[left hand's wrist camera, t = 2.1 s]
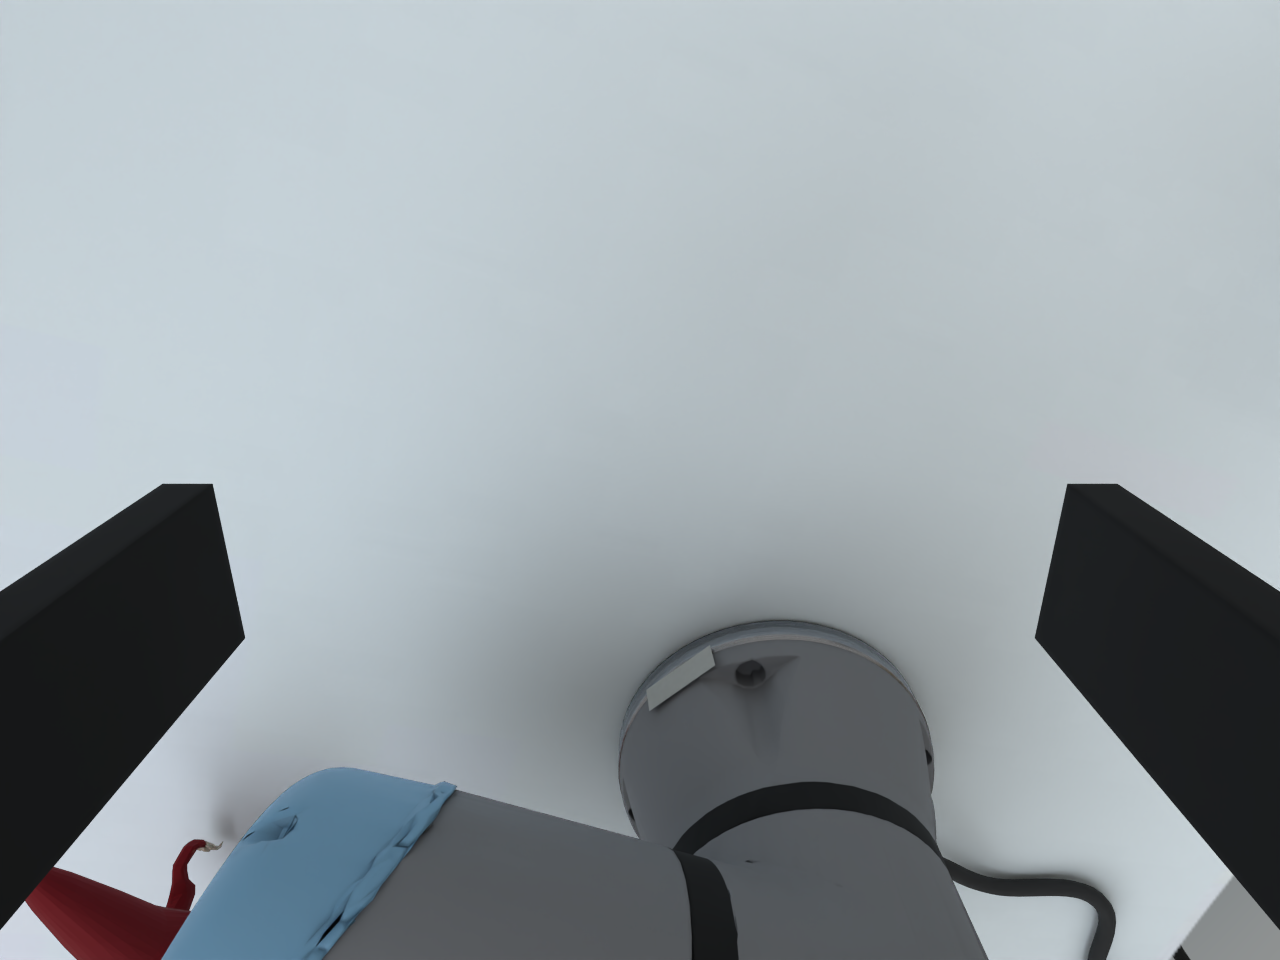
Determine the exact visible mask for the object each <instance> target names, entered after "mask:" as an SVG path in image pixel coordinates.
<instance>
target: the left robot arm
mask: <svg viewBox="0 0 1280 960" xmlns="http://www.w3.org/2000/svg"><path fill="white" fill-rule="evenodd" d="M244 639H245V635H244V630H243V625H242V621H241V616H240V611H239V606H238V602H237V597H236V592H235V588H234V583H233V578H232V573H231V569H230V564H229V559H228V555H227V550H226V545H225V540H224V536H223V531H222V526H221V521H220V517H219V512H218V507H217V503H216V498H215V493H214V488H213V484H162V485H160V486H159V487H157V488H156V489H154V490H153V491H151V492H150V493H148V494H147V495H145V496H144V497H142V498H141V499H139V500H138V501H136V502H135V503H133V504H132V505H130V506H129V507H127V508H126V509H124V510H123V511H121V512H120V513H118V514H117V515H115V516H114V517H112V518H111V519H109V520H107V521H106V522H104V523H103V524H101V525H100V526H98V527H97V528H95V529H94V530H92V531H91V532H89V533H88V534H86V535H85V536H83V537H82V538H80V539H79V540H77V541H76V542H74V543H73V544H71V545H70V546H68V547H67V548H65V549H64V550H62V551H61V552H59V553H58V554H56V555H55V556H53V557H52V558H50V559H49V560H47V561H46V562H44V563H43V564H41V565H40V566H38V567H37V568H35V569H34V570H32V571H31V572H29V573H28V574H26V575H25V576H23V577H22V578H20V579H19V580H17V581H16V582H14V583H13V584H11V585H9V586H8V587H6V588H5V589H3V590H2V591H0V930H1V928H2V927H3V926H4V925H5V924H6V922H7V921H8V920H9V919H10V918H11V917H12V915H13V914H14V913H15V912H16V911H17V909H18V908H19V907H20V906H21V905H22V903H23V902H24V901H25V900H26V899H27V897H28V896H29V895H30V894H31V893H32V892H33V890H34V889H35V888H36V887H37V886H38V884H39V883H40V882H41V881H42V880H43V878H44V877H45V876H46V875H47V874H48V872H49V871H50V870H51V869H52V868H53V866H54V865H55V864H56V863H57V862H58V861H59V859H60V858H61V857H62V856H63V855H64V853H65V852H66V851H67V850H68V849H69V847H70V846H71V845H72V844H73V843H74V841H75V840H76V839H77V838H78V837H79V835H80V834H81V833H82V832H83V831H84V830H85V828H86V827H87V826H88V825H89V824H90V822H91V821H92V820H93V819H94V818H95V816H96V815H97V814H98V813H99V812H100V810H101V809H102V808H103V807H104V806H105V804H106V803H107V802H108V801H109V800H110V799H111V797H112V796H113V795H114V794H115V793H116V791H117V790H118V789H119V788H120V787H121V785H122V784H123V783H124V782H125V781H126V779H127V778H128V777H129V776H130V775H131V773H132V772H133V771H134V770H135V769H136V768H137V766H138V765H139V764H140V763H141V762H142V760H143V759H144V758H145V757H146V756H147V754H148V753H149V752H150V751H151V750H152V748H153V747H154V746H155V745H156V744H157V742H158V741H159V740H160V739H161V738H162V737H163V735H164V734H165V733H166V732H167V731H168V729H169V728H170V727H171V726H172V725H173V723H174V722H175V721H176V720H177V719H178V717H179V716H180V715H181V714H182V713H183V711H184V710H185V709H186V708H187V707H188V706H189V704H190V703H191V702H192V701H193V700H194V698H195V697H196V696H197V695H198V694H199V692H200V691H201V690H202V689H203V688H204V686H205V685H206V684H207V683H208V682H209V681H210V679H211V678H212V677H213V676H214V675H215V673H216V672H217V671H218V670H219V669H220V667H221V666H222V665H223V664H224V663H225V661H226V660H227V659H228V658H229V657H230V655H231V654H232V653H233V652H234V651H235V650H236V648H237V647H238V646H239V645H240V644H241V642H242V641H243V640H244ZM1035 639H1036V640H1037V641H1038V642H1039V644H1040V645H1041V646H1042V647H1043V648H1044V650H1045V651H1046V652H1047V653H1048V654H1049V655H1050V657H1051V658H1052V659H1053V660H1054V661H1055V663H1056V664H1057V665H1058V666H1059V667H1060V669H1061V670H1062V671H1063V672H1064V673H1065V675H1066V676H1067V677H1068V678H1069V679H1070V680H1071V682H1072V683H1073V684H1074V685H1075V686H1076V688H1077V689H1078V690H1079V691H1080V692H1081V694H1082V695H1083V696H1084V697H1085V698H1086V700H1087V701H1088V702H1089V703H1090V704H1091V706H1092V707H1093V708H1094V709H1095V710H1096V711H1097V713H1098V714H1099V715H1100V716H1101V717H1102V719H1103V720H1104V721H1105V722H1106V723H1107V725H1108V726H1109V727H1110V728H1111V729H1112V731H1113V732H1114V733H1115V734H1116V735H1117V737H1118V738H1119V739H1120V740H1121V741H1122V742H1123V744H1124V745H1125V746H1126V747H1127V748H1128V750H1129V751H1130V752H1131V753H1132V754H1133V756H1134V757H1135V758H1136V759H1137V760H1138V762H1139V763H1140V764H1141V765H1142V766H1143V768H1144V769H1145V770H1146V771H1147V772H1148V773H1149V775H1150V776H1151V777H1152V778H1153V779H1154V781H1155V782H1156V783H1157V784H1158V785H1159V787H1160V788H1161V789H1162V790H1163V791H1164V793H1165V794H1166V795H1167V796H1168V797H1169V799H1170V800H1171V801H1172V802H1173V803H1174V804H1175V806H1176V807H1177V808H1178V809H1179V810H1180V812H1181V813H1182V814H1183V815H1184V816H1185V818H1186V819H1187V820H1188V821H1189V822H1190V824H1191V825H1192V826H1193V827H1194V828H1195V830H1196V831H1197V832H1198V833H1199V834H1200V835H1201V837H1202V838H1203V839H1204V840H1205V841H1206V843H1207V844H1208V845H1209V846H1210V847H1211V849H1212V850H1213V851H1214V852H1215V853H1216V855H1217V856H1218V857H1219V858H1220V859H1221V861H1222V862H1223V863H1224V864H1225V865H1226V866H1227V868H1228V869H1229V870H1230V871H1231V872H1232V874H1233V875H1234V876H1235V877H1236V878H1237V880H1238V881H1239V882H1240V883H1241V884H1242V886H1243V887H1244V888H1245V889H1246V890H1247V891H1248V893H1249V894H1250V895H1251V896H1252V897H1253V899H1254V900H1255V901H1256V902H1257V903H1258V905H1259V906H1260V907H1261V908H1262V909H1263V911H1264V912H1265V913H1266V914H1267V915H1268V917H1269V918H1270V919H1271V920H1272V921H1273V922H1274V924H1275V925H1276V926H1277V927H1278V928H1279V930H1280V591H1278V590H1277V589H1275V588H1274V587H1272V586H1271V585H1269V584H1267V583H1266V582H1264V581H1263V580H1261V579H1260V578H1258V577H1257V576H1255V575H1254V574H1252V573H1251V572H1249V571H1248V570H1246V569H1245V568H1243V567H1242V566H1240V565H1239V564H1237V563H1236V562H1234V561H1233V560H1231V559H1230V558H1228V557H1227V556H1225V555H1224V554H1222V553H1221V552H1219V551H1218V550H1216V549H1215V548H1213V547H1212V546H1210V545H1209V544H1207V543H1206V542H1204V541H1203V540H1201V539H1200V538H1198V537H1197V536H1195V535H1194V534H1192V533H1191V532H1189V531H1188V530H1186V529H1185V528H1183V527H1182V526H1180V525H1179V524H1177V523H1176V522H1174V521H1173V520H1171V519H1170V518H1168V517H1166V516H1165V515H1163V514H1162V513H1160V512H1159V511H1157V510H1156V509H1154V508H1153V507H1151V506H1150V505H1148V504H1147V503H1145V502H1144V501H1142V500H1141V499H1139V498H1138V497H1136V496H1135V495H1133V494H1132V493H1130V492H1129V491H1127V490H1126V489H1124V488H1123V487H1121V486H1120V485H1118V484H1067V488H1066V493H1065V498H1064V503H1063V507H1062V512H1061V517H1060V521H1059V526H1058V531H1057V536H1056V540H1055V545H1054V550H1053V555H1052V559H1051V564H1050V569H1049V573H1048V578H1047V583H1046V588H1045V592H1044V597H1043V602H1042V606H1041V611H1040V616H1039V621H1038V625H1037V630H1036V635H1035ZM933 781H934V755H933V748H932V743H931V738H930V733H929V728H928V726H927V723H926V720H925V717H924V715H923V713H922V711H921V709H920V707H919V705H918V703H917V701H916V699H915V697H914V695H913V693H912V691H911V689H910V687H909V685H908V684H907V682H906V681H905V679H904V678H903V676H902V675H901V674H900V673H899V671H898V670H897V669H896V668H895V667H894V665H893V664H891V663H890V662H889V661H888V660H887V659H886V658H885V657H884V656H883V655H882V654H880V653H879V652H878V651H876V650H875V649H874V648H872V647H871V646H869V645H867V644H866V643H864V642H862V641H861V640H859V639H857V638H855V637H852V636H850V635H848V634H846V633H843V632H840V631H838V630H835V629H832V628H828V627H824V626H820V625H816V624H810V623H804V622H793V621H766V622H755V623H749V624H743V625H738V626H734V627H730V628H727V629H723V630H720V631H717V632H715V633H712V634H709V635H707V636H705V637H702V638H700V639H698V640H696V641H694V642H692V643H690V644H689V645H687V646H685V647H683V648H682V649H680V650H679V651H677V652H676V653H674V654H673V655H671V656H670V657H669V658H668V659H666V660H665V661H664V662H663V663H662V664H660V665H659V666H658V667H657V668H656V669H655V670H654V671H653V672H652V673H651V674H650V675H649V677H648V678H647V679H646V680H645V682H644V683H643V684H642V685H641V687H640V688H639V690H638V691H637V693H636V694H635V696H634V698H633V699H632V701H631V703H630V706H629V708H628V710H627V712H626V715H625V718H624V721H623V725H622V729H621V734H620V744H619V783H620V790H621V793H622V798H623V802H624V806H625V809H626V812H627V815H628V817H629V820H630V822H631V824H632V826H633V829H634V830H635V832H636V834H637V836H638V837H639V839H637V838H633V837H629V836H625V835H622V834H618V833H614V832H611V831H607V830H603V829H599V828H596V827H592V826H588V825H585V824H581V823H577V822H573V821H570V820H566V819H562V818H559V817H555V816H551V815H548V814H544V813H540V812H536V811H533V810H529V809H525V808H522V807H518V806H514V805H510V804H507V803H503V802H499V801H496V800H492V799H488V798H484V797H481V796H477V795H473V794H470V793H466V792H462V791H459V790H455V789H456V788H457V786H456V785H452V784H450V783H447V782H445V781H444V782H440V783H438V784H436V785H431V784H426V783H421V782H417V781H412V780H407V779H403V778H398V777H393V776H389V775H384V774H379V773H375V772H370V771H365V770H361V769H356V768H346V767H340V768H330V769H325V770H322V771H319V772H316V773H313V774H311V775H309V776H307V777H305V778H303V779H301V780H300V781H298V782H297V783H295V784H294V785H292V786H291V787H290V788H288V789H287V790H286V791H285V792H283V793H282V794H281V795H280V796H279V797H278V798H277V799H276V800H275V801H274V802H273V803H272V804H271V805H270V806H269V807H268V808H267V809H266V810H265V811H264V813H263V814H262V815H261V816H260V817H259V818H258V819H257V820H256V822H255V823H254V824H253V825H252V826H251V828H250V829H249V830H248V831H247V833H246V834H245V835H244V837H243V838H242V839H241V841H240V842H239V843H238V845H237V846H236V847H235V849H234V850H233V851H232V853H231V854H230V855H229V857H228V858H227V860H226V861H225V862H224V864H223V865H222V867H221V868H220V869H219V871H218V872H217V874H216V875H215V877H214V878H213V880H212V881H211V883H210V884H209V885H208V887H207V888H206V890H205V891H204V893H203V894H202V896H201V897H200V899H199V900H198V902H197V903H196V905H195V906H194V908H193V909H192V911H191V913H190V914H189V916H188V917H187V919H186V920H185V922H184V924H183V925H182V927H181V928H180V930H179V932H178V933H177V935H176V936H175V938H174V940H173V941H172V943H171V944H170V946H169V948H168V949H167V951H166V953H165V954H164V956H163V958H162V959H161V960H988V957H987V955H986V953H985V951H984V949H983V946H982V944H981V942H980V940H979V938H978V935H977V933H976V931H975V929H974V927H973V924H972V922H971V920H970V918H969V916H968V913H967V911H966V909H965V907H964V905H963V902H962V900H961V898H960V896H959V894H958V892H957V889H956V887H955V885H954V883H953V881H955V882H957V883H959V884H961V885H964V886H966V887H969V888H972V889H975V890H978V891H981V892H985V893H989V894H995V895H1001V896H1018V897H1022V896H1067V897H1074V898H1079V899H1082V900H1084V901H1086V902H1088V903H1089V904H1091V905H1092V906H1093V907H1094V908H1095V909H1096V910H1097V913H1098V917H1099V922H1098V927H1097V931H1096V934H1095V937H1094V940H1093V943H1092V945H1091V948H1090V952H1089V955H1088V960H1106V958H1107V955H1108V953H1109V950H1110V947H1111V944H1112V941H1113V938H1114V934H1115V927H1116V918H1115V912H1114V910H1113V907H1112V905H1111V904H1110V902H1109V901H1108V900H1107V899H1106V897H1105V896H1104V895H1103V894H1102V893H1101V892H1099V891H1098V890H1096V889H1095V888H1093V887H1091V886H1089V885H1086V884H1083V883H1079V882H1076V881H1071V880H1064V879H998V878H992V877H987V876H984V875H980V874H977V873H975V872H972V871H970V870H968V869H966V868H964V867H962V866H960V865H958V864H956V863H954V862H952V861H950V860H948V859H945V858H943V857H942V855H941V853H940V851H939V848H938V846H937V843H936V823H935V812H934V806H933V801H932V798H931V793H932V788H933ZM952 880H953V881H952ZM1172 956H1173V958H1174V959H1175V960H1191V959H1190V958H1189V957H1188V955H1187V954H1186V952H1185V951H1184V949H1183V947H1182V946H1181V944H1180V946H1179V947H1178V948H1177V950H1176V951H1175V952H1174V954H1173V955H1172Z"/></svg>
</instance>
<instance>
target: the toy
mask: <svg viewBox="0 0 1280 960" xmlns="http://www.w3.org/2000/svg"><path fill="white" fill-rule="evenodd" d="M222 843H223V842H222ZM222 843H221V844H220V845H219V846H215V845H214V844H212V843H209V842H207V841H204V840H196V839H194V840H192V841H190V842H188V843H187V844H186V845H185V846H184V847H183V849H182V851H181V852H180V854H179V856H178V857H177V859H176V861H175V863H174V864H173V870H172V886H171V891H170V895H169V899H168V903H167V906H166V907H161V906H156V905H153V904H151V903H149V902H146V901H144V900H141V899H139V898H137V897H134V896H132V895H130V894H127V893H125V892H122V891H120V890H117V889H115V888H112V887H109V886H107V885H104V884H101V883H99V882H96V881H94V880H91V879H88V878H86V877H83V876H80V875H78V874H75V873H72V872H69V871H66V870H62V869H59V868H56V867H53V868H52V869H51V870H50V871H49V872H48V874H47V875H46V876H45V877H44V878H43V880H42V881H41V882H40V883H39V884H38V886H37V887H36V888H35V889H34V890H33V892H32V893H31V894H30V895H29V896H28V897H27V899H26V900H25V901H26V903H27V904H28V906H29V907H30V908H31V910H32V911H33V912H34V913H35V915H36V916H37V917H38V918H39V919H40V920H41V921H42V922H43V924H44V925H45V926H46V927H47V928H48V929H49V930H50V932H51V933H52V934H53V935H54V936H55V937H56V938H57V940H58V941H59V942H60V943H61V944H62V945H63V946H64V947H65V948H66V949H67V950H68V951H69V952H70V953H71V954H72V955H73V956H74V957H75V958H76V959H77V960H161V959H162V958H163V956H164V954H165V953H166V951H167V949H168V948H169V946H170V944H171V943H172V941H173V940H174V938H175V936H176V935H177V933H178V932H179V930H180V928H181V927H182V925H183V924H184V922H185V920H186V919H187V917H188V916H189V914H190V913H191V911H189V910H190V907H191V904H192V901H193V898H194V896H195V885H194V884H193V883H192V882H191V881H190V880H189V878H188V872H187V864H188V862H189V861H190V859H191V858H192V856H193V855H194V853H195V851H196V850H199V851H201V850H202V851H204V852H209V851H210V850H218V849H219V848H221V846H222Z"/></svg>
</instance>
